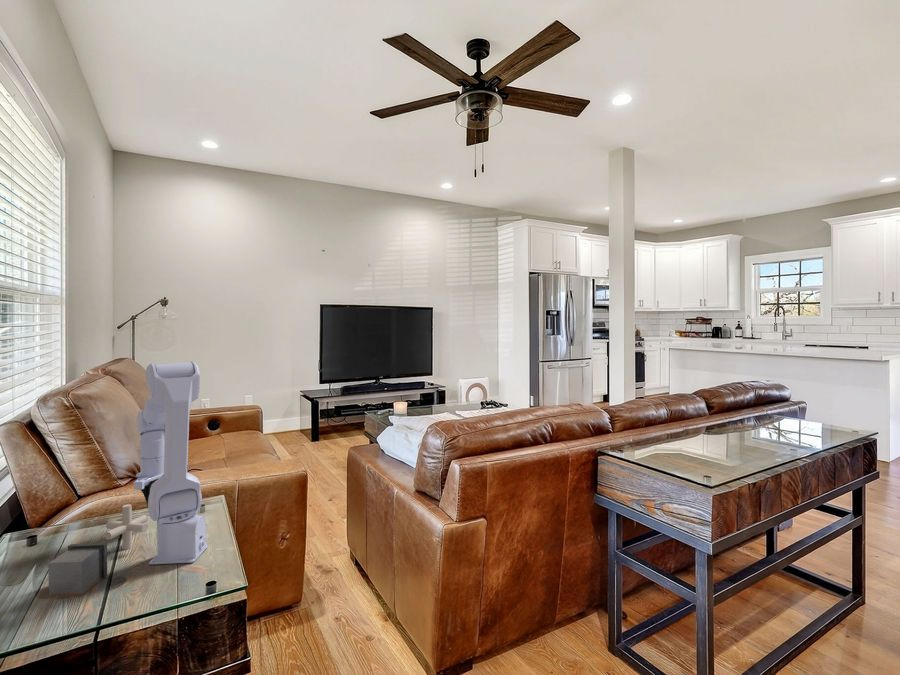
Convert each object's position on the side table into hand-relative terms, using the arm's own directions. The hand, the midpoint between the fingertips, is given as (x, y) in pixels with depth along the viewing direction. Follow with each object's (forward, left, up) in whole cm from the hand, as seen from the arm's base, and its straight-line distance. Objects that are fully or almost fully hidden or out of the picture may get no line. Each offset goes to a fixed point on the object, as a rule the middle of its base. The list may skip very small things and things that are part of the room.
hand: (153, 507), depth 124 cm
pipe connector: (0, +12, -5) cm, 13 cm away
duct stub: (0, +29, -5) cm, 29 cm away
